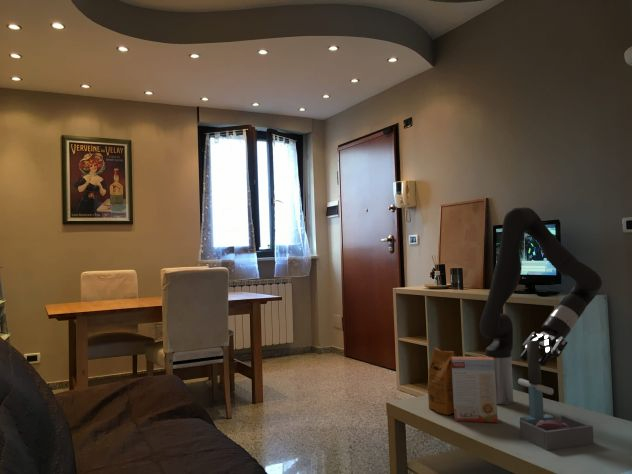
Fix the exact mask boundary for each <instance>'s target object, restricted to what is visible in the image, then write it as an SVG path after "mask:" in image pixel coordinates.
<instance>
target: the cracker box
mask: <svg viewBox="0 0 632 474" xmlns="http://www.w3.org/2000/svg"><path fill="white" fill-rule="evenodd" d="M452 380H453V401H454V413H453V415H454V422H455V421H456V422H477V423H479V422H480V423H495V424H496V423H499V422H498V420H499V419H498V418H499V417H498V404H497V399H496V381H495V364H494V358H493V357H486V356H455V357H452Z"/></svg>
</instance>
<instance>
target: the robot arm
mask: <svg viewBox="0 0 632 474" xmlns="http://www.w3.org/2000/svg"><path fill="white" fill-rule="evenodd" d="M524 233H525V234H526V235H528V236H529V237H531V238H532V239H534V241H535V242H536V243H537V244H538V246H539V247H540V249H541V251H542V254H543V255H544V257H545V258H546V259H547V261H548V263H550V264H551V266H552V267H553V268H554V269H556V271H558V272H559V274H560V275H562V276H564V277H565V278H566V277H567V278H568V277H570V278H571V279H572V280H573V281H575V284H574V286H573V287H572V288H571V290H570V291H569V293H568V294H566V295H565V296H564V297H563V298H562V299H561V300H560V302H559V303H558V305H557V306H556V307H555V308H554V309H553V310H552V312H550V314H549V315H548V317H547V318H546V319H545V321H544V322H543V324H542V325H541V332H540V333H537V332H535V331H533V332H531V333H530V335H529V336H528V337H526V339H525V341H524V342H523V343H522V346H523V347H524V348H525V349H524V350H523V351H522V353H521V354H520V356H519V357H520V359H521V360H522V361H524V362H526V361H528V357H527V341H529V340H534V341H539V349H540V350H541V349H545V352H544V353H543V354H542V355H540V359H539V361H538V363H539V364H540V367H545V366H546V365H547V364H548V362H549V361H550V360H551V358H552V359H553V358H554V357H556V358H558V357H560V355H561V354H562V353H563V351H564V350H565V348H566V346H567V345H568V341H567V340H566V338H567V336H568V335H569V334H570V332H571V331H572V330H573V328H574V327H575V325H576V324H577V323H578V320H579V319H580V317H581V316H582V315H583V313H584V311H585V310H586V309H587V306H589V305H590V304H591V302H592V301H593V300H594V298H595V297H596V296H597V295H598V293H599V291H600V289H601V288H602V285H603V281H602V278H601V277H600V275H599V273H597V272H596V271H595V270H594V269H592V268H591V267H590V266H588V265H586V264H584V263H583V262H581V261H579V259H577V258H576V256H574V254H572V253H571V252H570V250H568V249H567V248H566V247H565V246H564V245H563V244H562V243H561V242H560V241H559V240H558V239H557V237H555V236H554V234H553V233H552V232H551V231H550V229H549V228H548V227H547V226H546V224H545V223H544V221H543V220H542V219H541V217H540V216H539V215H538V214H537V212H536V211H535V210H533V209H532V208H531V207H524V206H522V207H514V208H510V209H509V210H508V211H507V212H506V214H505V215H504V218H503V221H502V231H501V239H500V245H499V250H498V253H497V258H496V263H495V265H494V270H493V275H492V280H491V284H490V288H489V293H488V295H487V299H486V303H485V306H484V309H483V311H482V313H481V316H480V321H479V331H480V334H481V336H483V337H484V338H485V339H491V340H492V339H493V341H492V342H491V344H490V345H488V346H487V347H486V348H485V357H493V358H494V364H495V381H496V399H497V405H511V404H513V403H514V387H513V367H512V366H513V364H512V363H513V362H512V350H513V347H514V346H513V345H514V327H513V322H512V319H511V318H510V316H509V315H508V314H506V313H502V311H503V308H504V306H505V304H506V303H507V301H508V300H509V299H510V298H511V297H512V295H513V294H514V292H516V289H517V288H518V286H519V283H520V279H521V275H522V260H521V255H520V246H521V242H522V238H523V235H524Z"/></svg>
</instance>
